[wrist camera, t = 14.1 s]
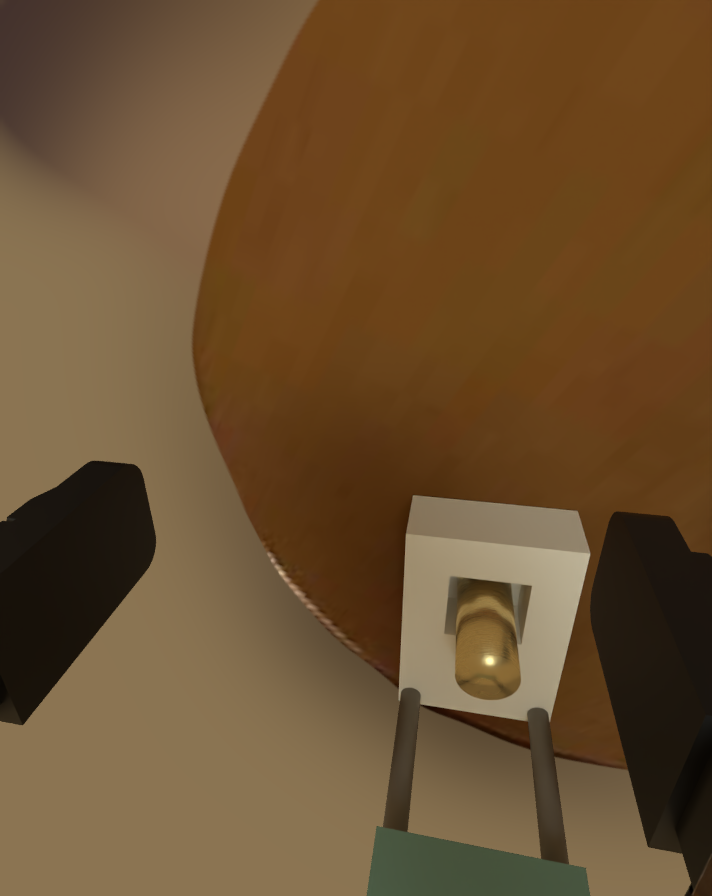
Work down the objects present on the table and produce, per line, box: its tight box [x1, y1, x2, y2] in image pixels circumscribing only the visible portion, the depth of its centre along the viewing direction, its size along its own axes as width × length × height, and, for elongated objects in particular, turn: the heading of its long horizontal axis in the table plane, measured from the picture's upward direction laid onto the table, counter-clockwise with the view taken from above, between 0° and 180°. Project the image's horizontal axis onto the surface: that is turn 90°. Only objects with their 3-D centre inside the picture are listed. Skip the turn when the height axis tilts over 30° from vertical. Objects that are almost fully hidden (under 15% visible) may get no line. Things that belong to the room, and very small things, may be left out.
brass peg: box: [455, 577, 521, 700], centre depth 38 cm, size 4×4×10 cm
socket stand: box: [367, 495, 590, 896], centre depth 36 cm, size 12×17×21 cm
